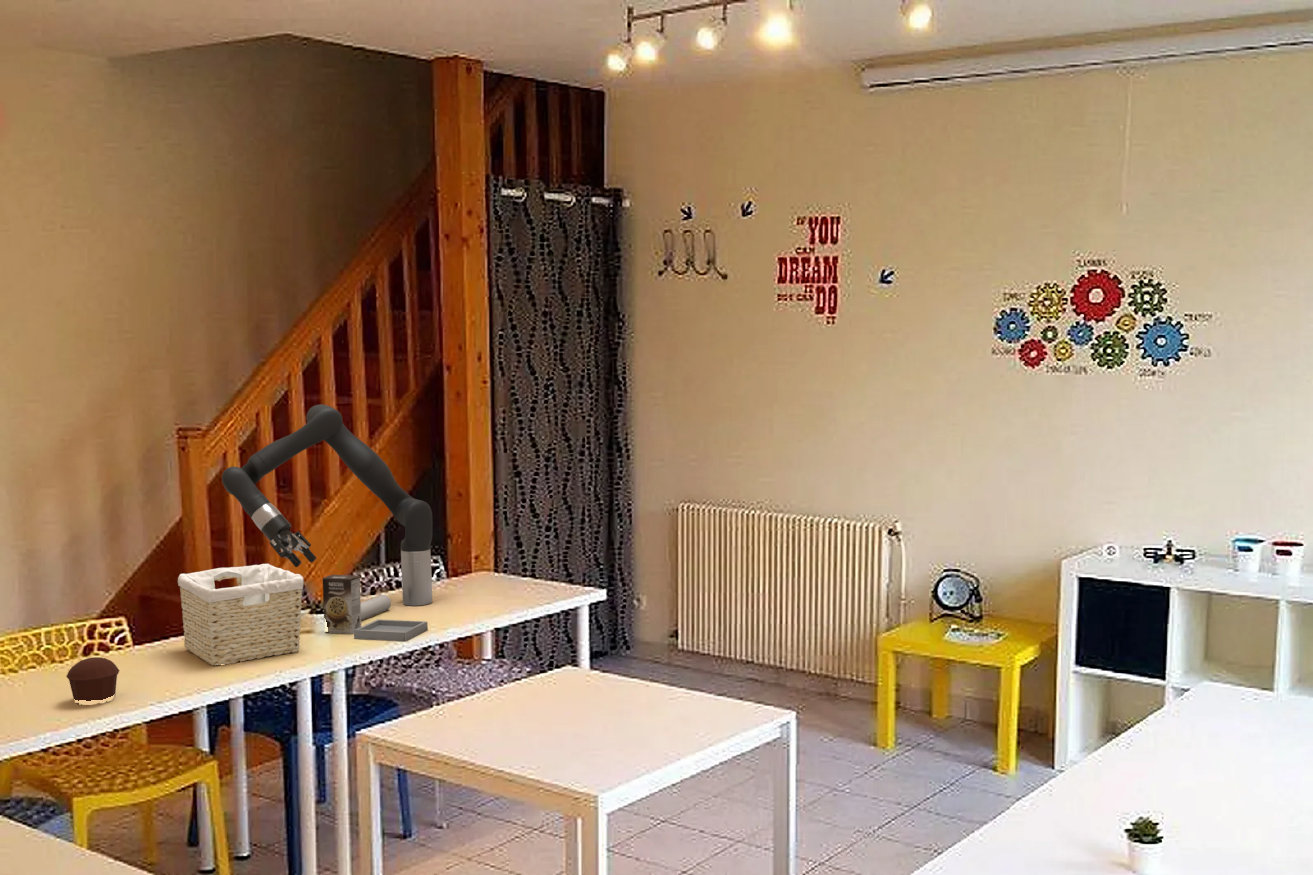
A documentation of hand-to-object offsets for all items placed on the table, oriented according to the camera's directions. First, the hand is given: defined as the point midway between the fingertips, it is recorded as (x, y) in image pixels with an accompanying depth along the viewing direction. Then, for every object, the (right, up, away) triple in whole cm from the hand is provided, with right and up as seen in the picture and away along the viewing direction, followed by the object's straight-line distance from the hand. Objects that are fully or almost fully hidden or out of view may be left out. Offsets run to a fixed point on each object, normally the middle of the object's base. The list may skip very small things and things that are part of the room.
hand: (306, 562), depth 382 cm
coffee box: (+11, -20, -1) cm, 23 cm away
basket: (-11, -22, -23) cm, 34 cm away
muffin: (-32, -27, -68) cm, 80 cm away
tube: (+13, -19, +15) cm, 27 cm away
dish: (+26, -20, -6) cm, 33 cm away
